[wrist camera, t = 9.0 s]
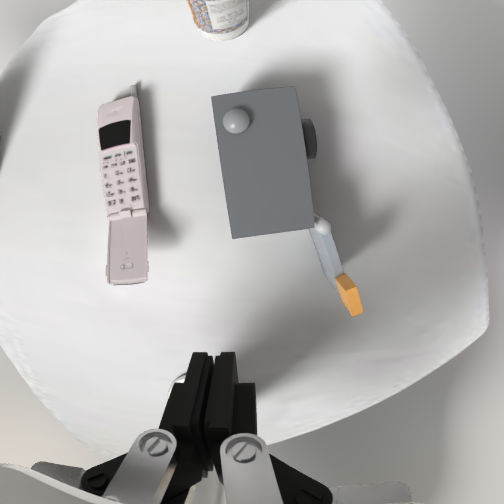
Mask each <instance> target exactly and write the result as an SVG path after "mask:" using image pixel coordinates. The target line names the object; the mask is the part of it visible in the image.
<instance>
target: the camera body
mask: <svg viewBox="0 0 504 504" xmlns="http://www.w3.org/2000/svg"><path fill="white" fill-rule="evenodd" d="M211 99H212V106H213V113H214V121H215V128H216V135H217V142H218V149H219V156H220V162H221V169H222V176H223V182H224V189H225V195H226V202H227V208H228V215H229V221H230V227H231V234H232V239H236V238H244V237H251V236H258V235H265V234H272V233H280V232H287V231H295V230H302V229H310V228H315V223H314V214H313V204H312V195H311V187H310V179H309V171H308V163H307V159H313V158H315V157H316V153H317V141H316V134H315V129H314V126H313V123H312V121H311V120H310V119H304V120H301V117H300V111H299V106H298V100H297V94H296V89H295V87H281V88H270V89H260V90H251V91H244V92H237V93H230V94H224V95H218V96H212V97H211Z"/></svg>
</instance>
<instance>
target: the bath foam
mask: <svg viewBox="0 0 504 504" xmlns="http://www.w3.org/2000/svg"><path fill="white" fill-rule="evenodd" d="M186 1H187V4H188V7H189V9H190V12H191V14H192V17H193V19H194V22H195V24H196V27H197V29H198V31H199V32H200V34H201V35H203V36H204V37H205V38H208V39H210V40H215V41H225V40H230V39H233V38H236V37H237V36H239V35H241V34H242V33H243V32H244V31H245V30H246V28H247V26H248V23H249V0H186Z"/></svg>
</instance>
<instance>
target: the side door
mask: <svg viewBox="0 0 504 504" xmlns="http://www.w3.org/2000/svg"><path fill="white" fill-rule="evenodd" d="M313 214H314V223H315V228H310V229H309V230H310V233H311V235H312V238H313V241H314V244H315V246H316V249H317V252H318V255H319V258H320V261H321V263H322V266H323V269H324V272H325V275H326V277H327V279H328V280H329V281H330V283H331V284H332V286H333V287H334V288H335V290H336V291H337V293H338V294H339V295H340V297H341V300H342V302H343V304H344V305H345V306H346V308H347V309H348V311H349V312H350V314H351V315H352V317H354V316H356V315H358V314H360V313H363V308H362V304H361V300H360V296H359V293H358V289H357V286H356V285H355V284H354V283H353V282H352V280H351V279H350V278H349V277H348V276H347V275H346V274H345V273H344V271H343V268H342V265H341V262H340V259H339V255H338V252H337V249H336V246H335V243H334V240H333V237H332V234H331V224H330V222H328V221H327V220H325V219H323V218H322V217H320V216H318V215H317V214H315V213H313Z"/></svg>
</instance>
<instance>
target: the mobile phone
mask: <svg viewBox="0 0 504 504" xmlns="http://www.w3.org/2000/svg"><path fill="white" fill-rule="evenodd" d="M97 139H98V153H99V162H100V171H101V178H102V185H103V191H104V197H105V203H106V208H107V214H108V216H107V218H108V220H109V221H110V222H109V236H108V255H107V265H106V276H107V283H108V284H111V285H128V284H138V283H144V282H146V281H147V280H148V274H147V272H148V271H149V265H148V261H147V213H148V212H149V199H148V190H147V181H146V170H145V160H144V150H143V140H142V127H141V117H140V106H139V100H138V95H137V87H136V85H132V86H130V96H129V97H126V98H122V99H119V100H116V101H112V102H109V103H106V104H103V105H101V106H100V107H99V109H98V118H97Z"/></svg>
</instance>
